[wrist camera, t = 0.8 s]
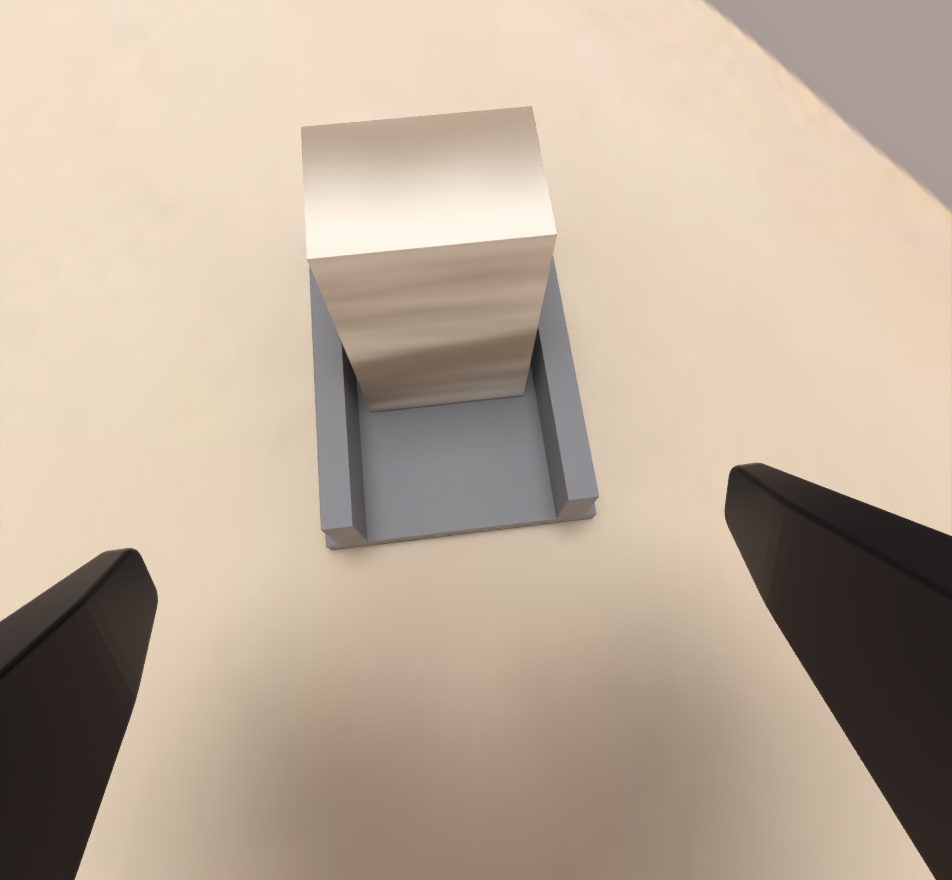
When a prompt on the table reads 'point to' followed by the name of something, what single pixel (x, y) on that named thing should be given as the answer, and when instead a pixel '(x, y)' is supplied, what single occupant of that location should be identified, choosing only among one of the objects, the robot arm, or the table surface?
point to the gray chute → (450, 448)
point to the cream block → (431, 251)
